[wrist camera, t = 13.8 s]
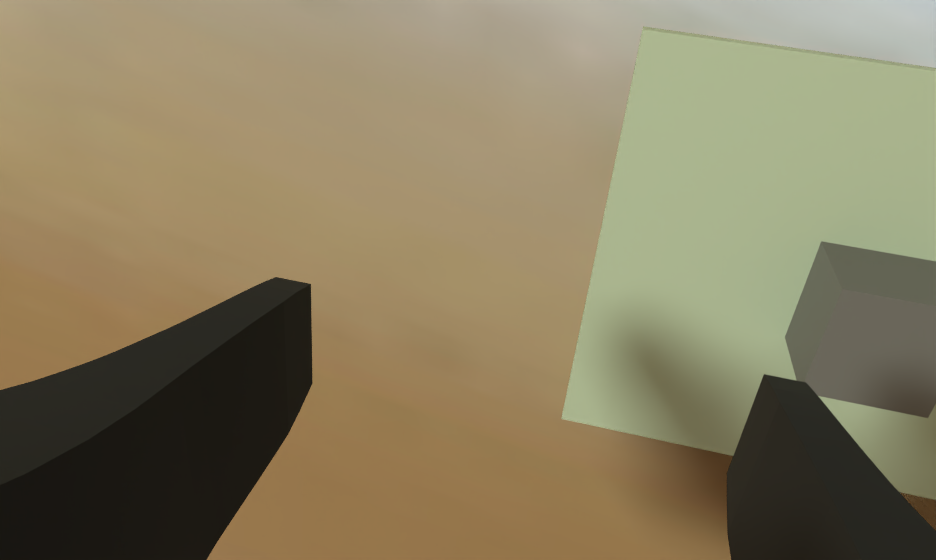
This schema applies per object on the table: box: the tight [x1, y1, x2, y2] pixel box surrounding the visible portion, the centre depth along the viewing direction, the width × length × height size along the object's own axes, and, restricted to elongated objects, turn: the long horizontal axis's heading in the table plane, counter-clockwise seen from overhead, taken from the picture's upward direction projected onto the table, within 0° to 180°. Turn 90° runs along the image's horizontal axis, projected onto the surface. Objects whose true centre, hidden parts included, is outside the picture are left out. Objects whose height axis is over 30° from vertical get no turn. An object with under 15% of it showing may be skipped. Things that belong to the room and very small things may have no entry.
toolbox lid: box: [562, 27, 936, 500], centre depth 19 cm, size 12×12×4 cm
